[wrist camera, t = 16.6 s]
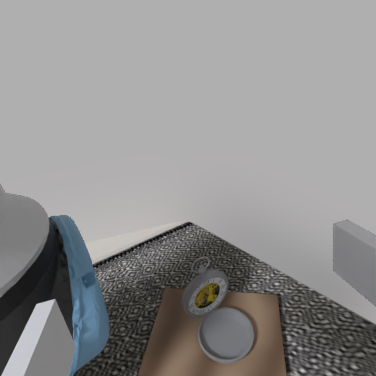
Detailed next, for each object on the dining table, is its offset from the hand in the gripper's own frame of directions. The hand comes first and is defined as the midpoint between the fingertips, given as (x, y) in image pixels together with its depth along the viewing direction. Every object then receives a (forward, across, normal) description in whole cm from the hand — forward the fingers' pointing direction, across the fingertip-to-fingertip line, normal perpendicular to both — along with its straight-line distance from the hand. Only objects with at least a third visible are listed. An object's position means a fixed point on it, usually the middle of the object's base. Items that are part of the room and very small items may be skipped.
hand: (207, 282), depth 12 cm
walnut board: (+15, +2, -21) cm, 26 cm away
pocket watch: (+15, +3, -20) cm, 25 cm away
